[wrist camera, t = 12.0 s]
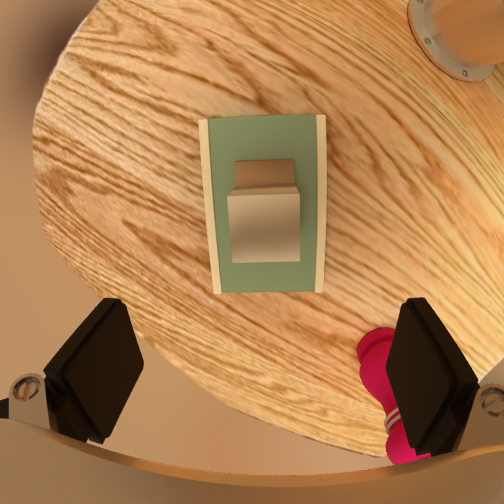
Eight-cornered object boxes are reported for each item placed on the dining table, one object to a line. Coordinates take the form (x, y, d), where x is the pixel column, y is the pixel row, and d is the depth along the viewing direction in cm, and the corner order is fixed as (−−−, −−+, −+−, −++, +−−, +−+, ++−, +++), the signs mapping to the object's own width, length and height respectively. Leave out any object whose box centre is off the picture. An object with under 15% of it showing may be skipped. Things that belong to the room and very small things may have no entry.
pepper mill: (407, 320, 34) (472, 443, 15) (398, 361, 37) (444, 478, 18) (355, 327, 35) (399, 468, 16) (350, 368, 37) (380, 497, 19)
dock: (206, 121, 27) (198, 119, 24) (319, 117, 26) (325, 114, 23) (219, 279, 33) (213, 293, 30) (318, 277, 32) (322, 292, 29)
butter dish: (235, 160, 26) (224, 168, 20) (293, 158, 25) (299, 165, 19) (242, 255, 29) (234, 286, 23) (294, 254, 28) (299, 285, 23)
